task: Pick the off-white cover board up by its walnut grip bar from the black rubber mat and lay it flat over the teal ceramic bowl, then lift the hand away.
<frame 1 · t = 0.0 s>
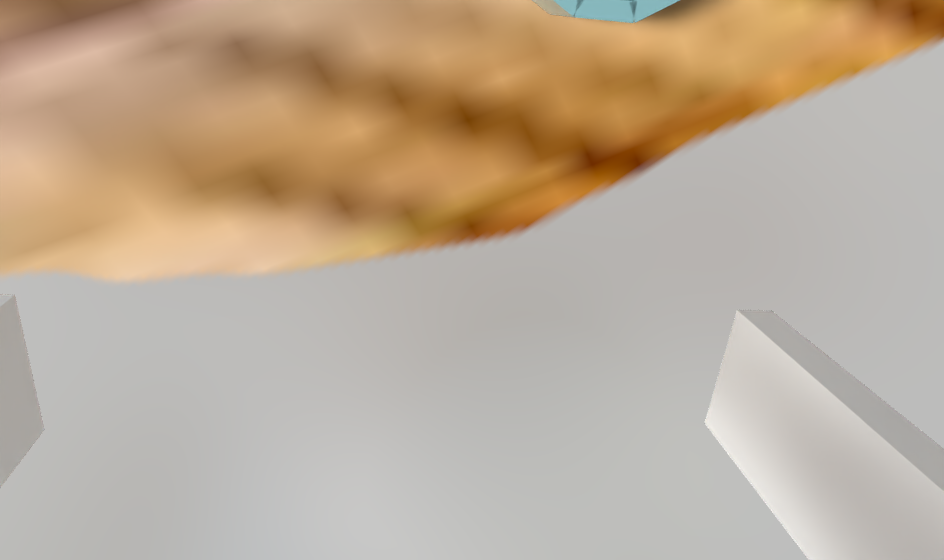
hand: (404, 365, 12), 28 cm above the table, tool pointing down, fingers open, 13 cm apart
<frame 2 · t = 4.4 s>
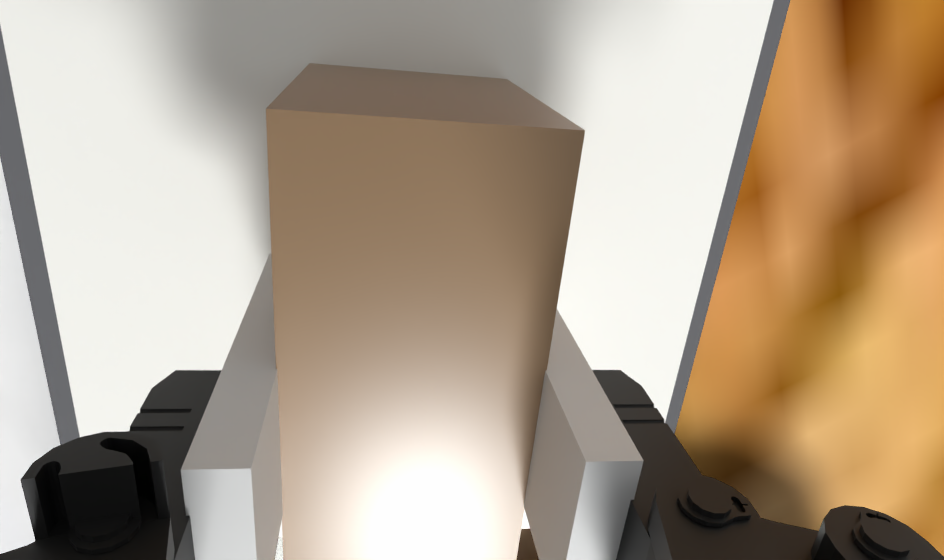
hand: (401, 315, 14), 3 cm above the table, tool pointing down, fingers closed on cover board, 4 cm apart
cover board: (398, 276, 16), point 1 cm above the table, touching gripper, mat
mat: (397, 268, 16), on the table
when the fingers open (9 cm above the table, at t = 9.4 s): cover board drops 1 cm, resting on bowl.
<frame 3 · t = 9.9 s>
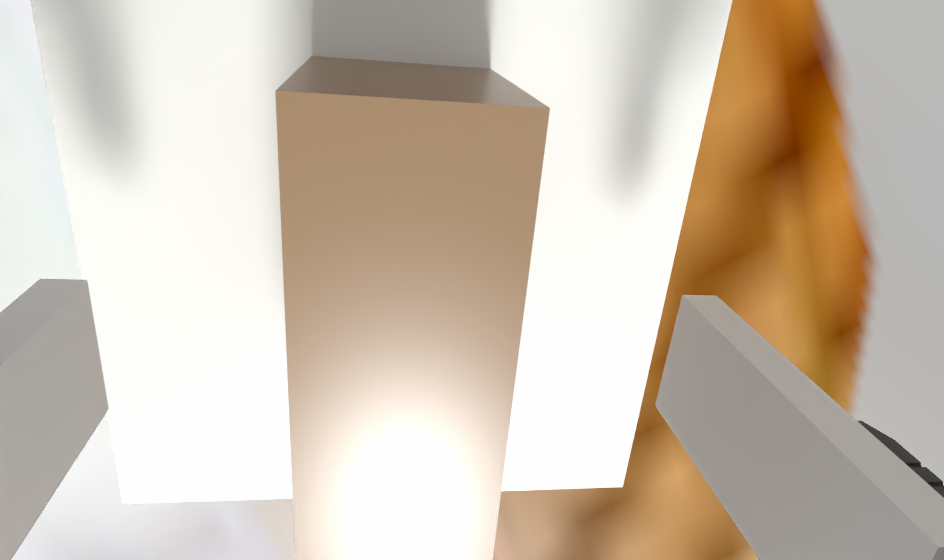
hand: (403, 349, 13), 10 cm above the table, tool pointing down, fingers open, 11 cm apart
cover board: (394, 253, 17), point 5 cm above the table, touching bowl
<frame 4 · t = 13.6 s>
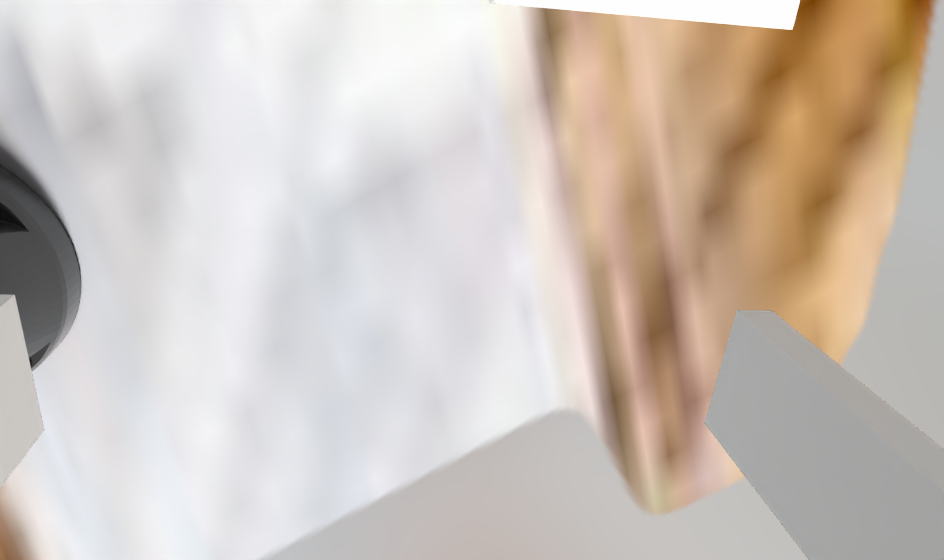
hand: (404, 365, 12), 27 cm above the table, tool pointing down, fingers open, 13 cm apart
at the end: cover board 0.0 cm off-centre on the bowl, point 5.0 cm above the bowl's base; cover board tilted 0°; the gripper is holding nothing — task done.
